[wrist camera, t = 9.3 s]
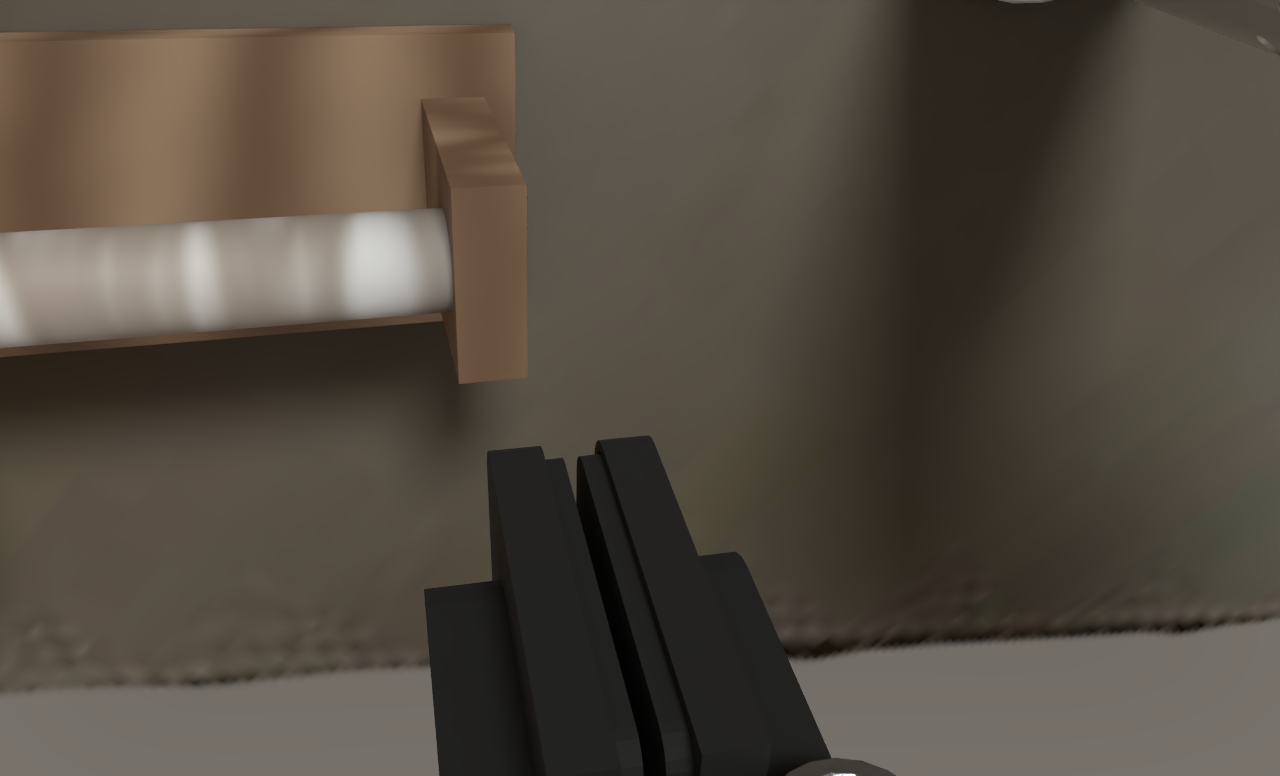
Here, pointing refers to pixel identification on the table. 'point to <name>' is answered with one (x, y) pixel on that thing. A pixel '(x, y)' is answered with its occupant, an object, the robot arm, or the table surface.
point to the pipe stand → (262, 188)
